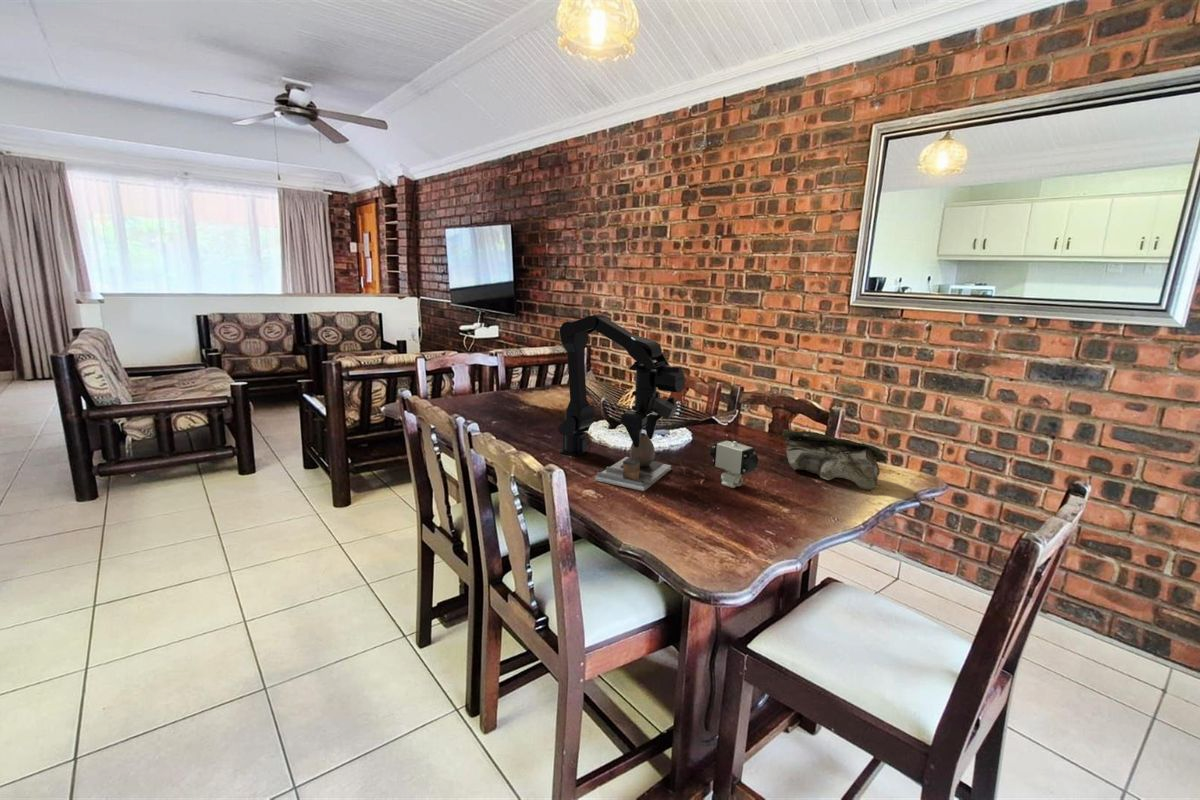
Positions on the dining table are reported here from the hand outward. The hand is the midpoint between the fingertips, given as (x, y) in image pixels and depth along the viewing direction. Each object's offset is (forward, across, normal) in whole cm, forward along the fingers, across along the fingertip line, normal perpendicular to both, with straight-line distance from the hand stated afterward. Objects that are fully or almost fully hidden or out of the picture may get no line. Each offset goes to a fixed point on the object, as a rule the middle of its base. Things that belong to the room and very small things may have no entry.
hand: (643, 443), depth 149 cm
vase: (+6, 0, 0) cm, 7 cm away
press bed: (+8, -5, 0) cm, 9 cm away
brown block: (+7, -12, -2) cm, 13 cm away
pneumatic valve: (+8, +2, -25) cm, 26 cm away
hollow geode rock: (+8, +24, -46) cm, 52 cm away
